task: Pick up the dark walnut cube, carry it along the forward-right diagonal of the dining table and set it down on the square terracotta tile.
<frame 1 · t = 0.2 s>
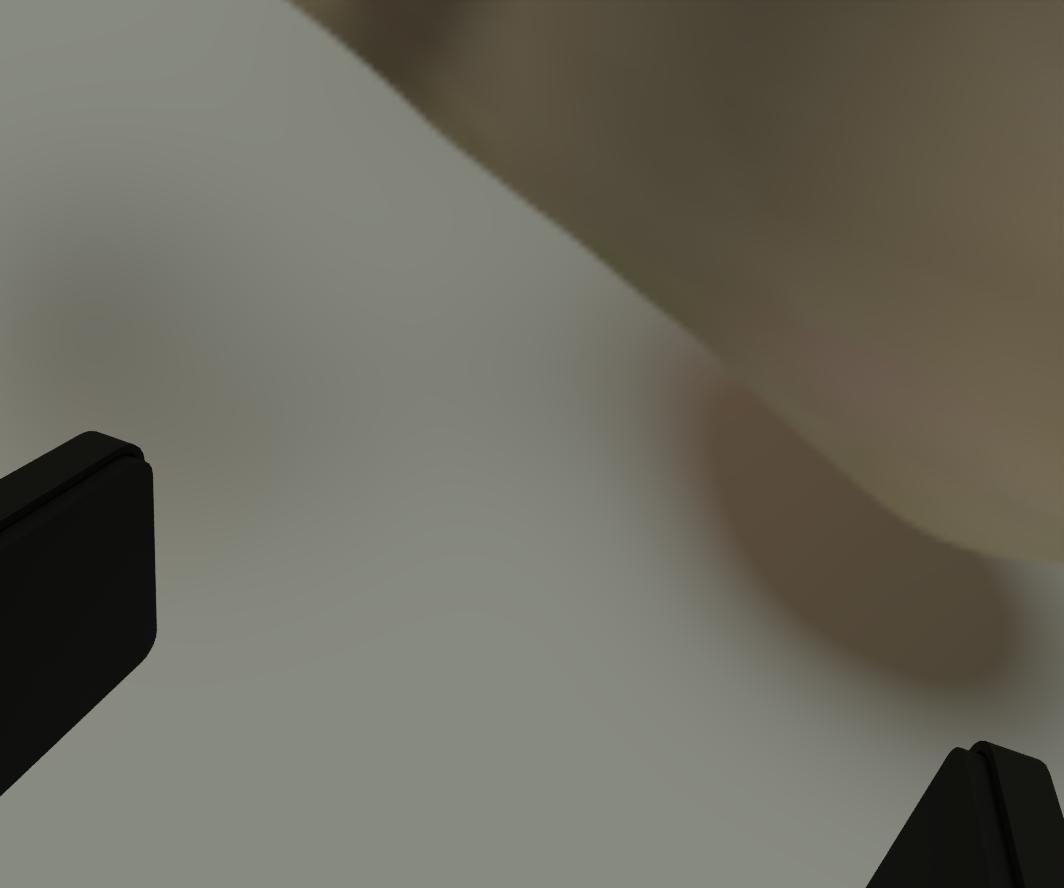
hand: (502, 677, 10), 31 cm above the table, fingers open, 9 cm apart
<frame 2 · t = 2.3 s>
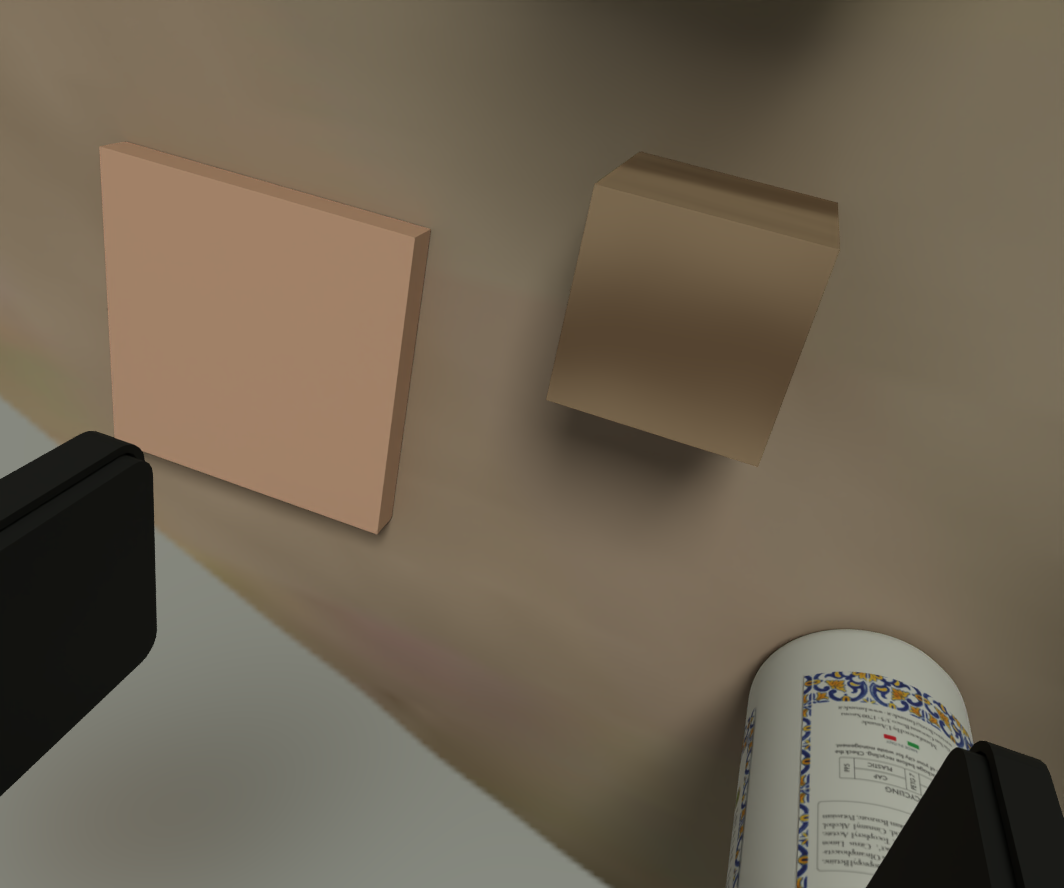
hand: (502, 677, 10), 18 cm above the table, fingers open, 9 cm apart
walnut cube: (707, 272, 25), on the table
bath foam: (853, 700, 30), on the table
terracotta tile: (266, 340, 30), on the table
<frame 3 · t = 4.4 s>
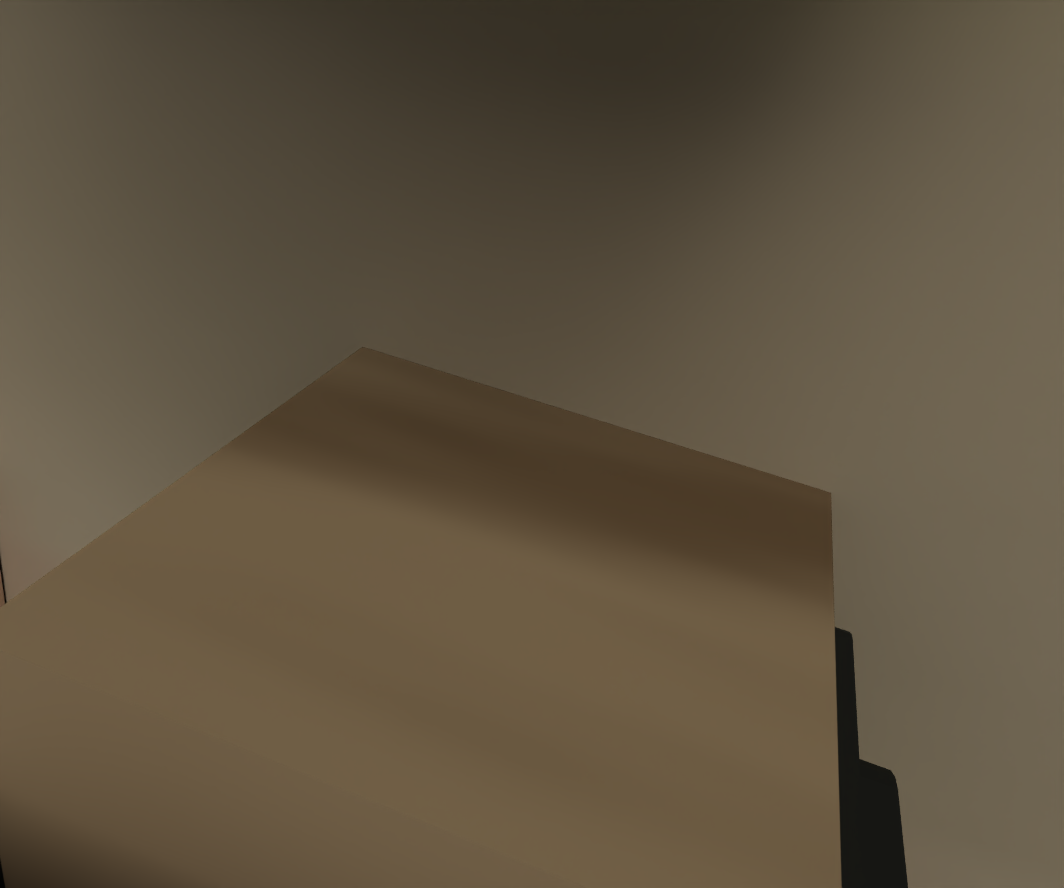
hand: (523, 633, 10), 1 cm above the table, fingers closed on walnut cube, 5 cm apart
walnut cube: (538, 604, 11), on the table, touching gripper
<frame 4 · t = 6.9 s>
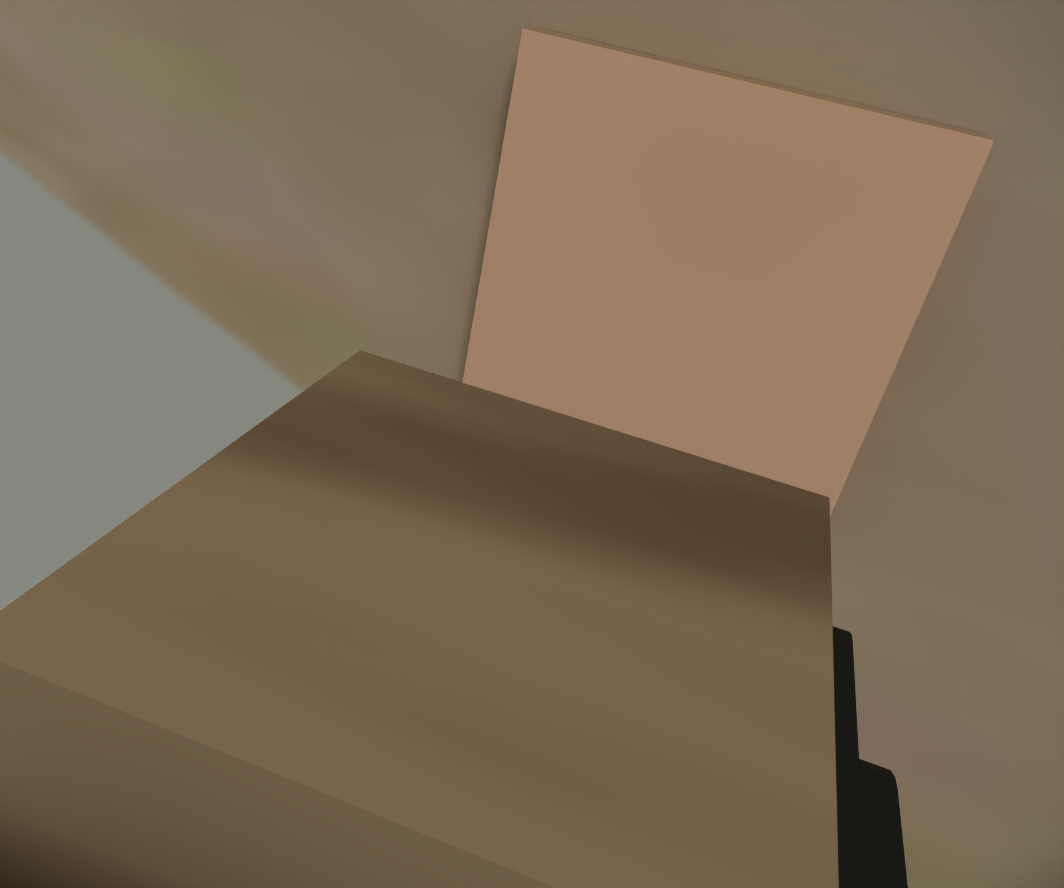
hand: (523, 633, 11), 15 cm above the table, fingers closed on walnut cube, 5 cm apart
walnut cube: (536, 608, 11), point 15 cm above the table, touching gripper
terracotta tile: (688, 293, 24), on the table
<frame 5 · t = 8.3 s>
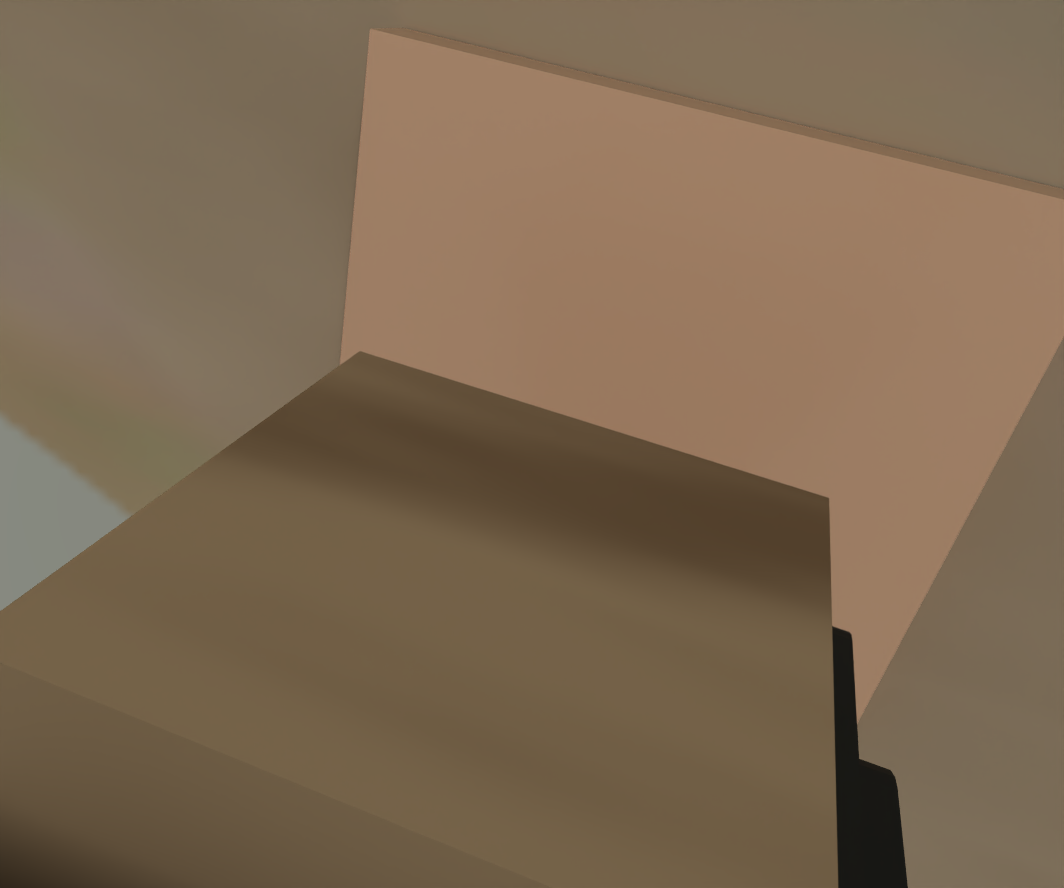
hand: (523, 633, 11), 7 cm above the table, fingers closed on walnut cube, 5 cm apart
walnut cube: (535, 609, 11), point 6 cm above the table, touching gripper
terracotta tile: (639, 417, 16), on the table
when the fingers open (3 cm above the table, at t = 9.5 s): walnut cube drops 1 cm, resting on terracotta tile.
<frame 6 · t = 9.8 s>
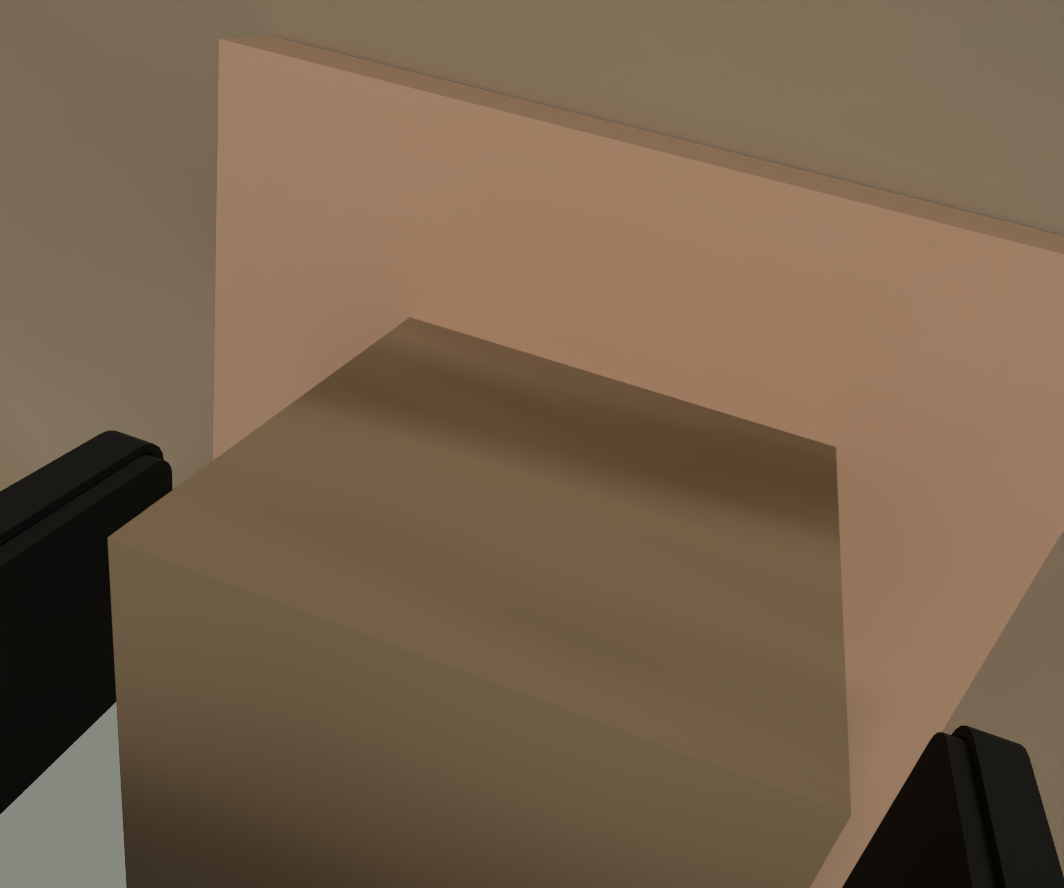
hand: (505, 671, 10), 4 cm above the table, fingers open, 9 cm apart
walnut cube: (566, 555, 12), point 1 cm above the table, touching terracotta tile
terracotta tile: (581, 513, 13), on the table
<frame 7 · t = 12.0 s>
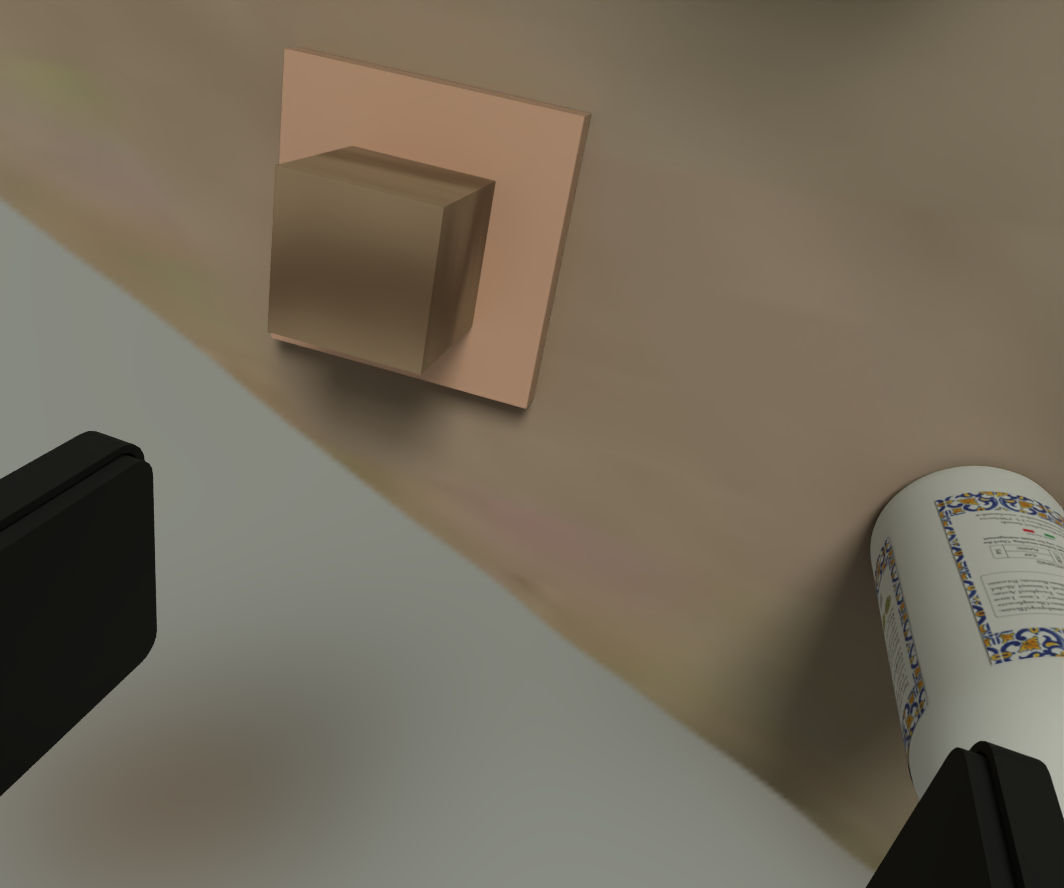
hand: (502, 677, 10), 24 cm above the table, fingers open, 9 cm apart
walnut cube: (413, 238, 32), point 1 cm above the table, touching terracotta tile
bath foam: (964, 538, 33), on the table
terracotta tile: (423, 232, 33), on the table
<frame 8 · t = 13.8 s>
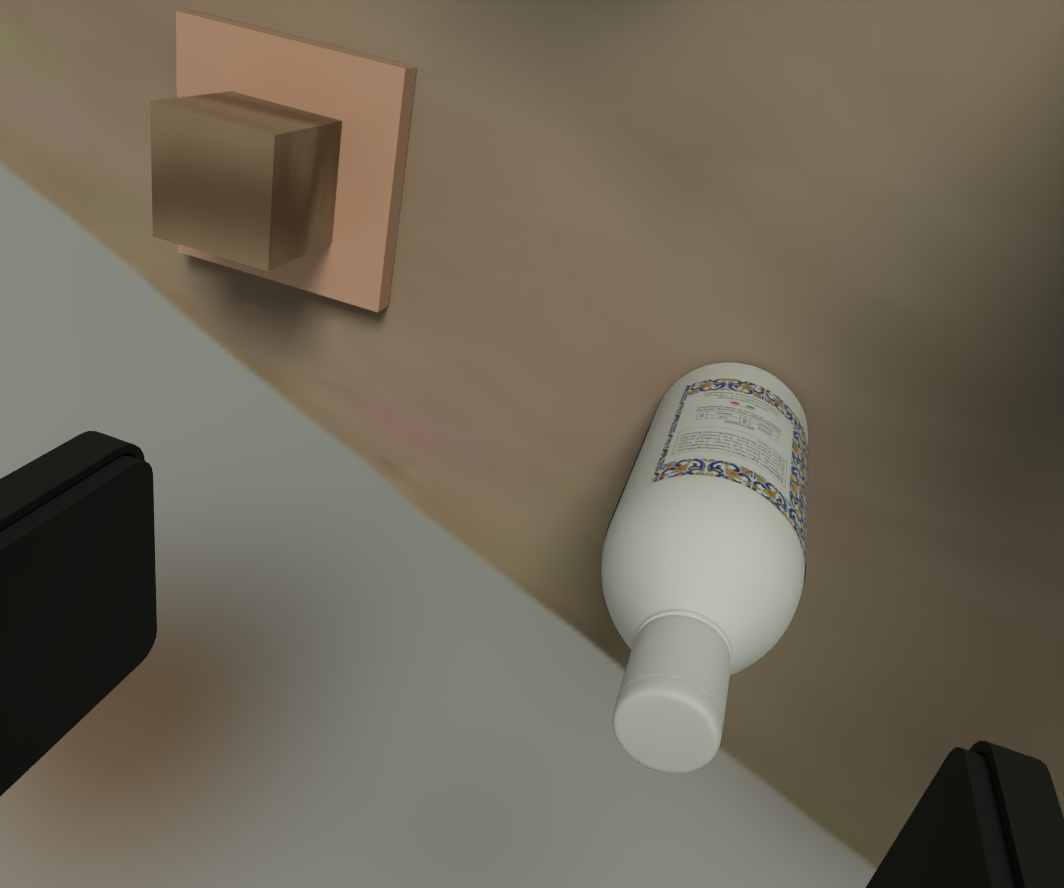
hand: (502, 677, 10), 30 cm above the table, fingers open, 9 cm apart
walnut cube: (283, 168, 40), point 1 cm above the table, touching terracotta tile
bath foam: (730, 427, 40), on the table
terracotta tile: (295, 164, 41), on the table
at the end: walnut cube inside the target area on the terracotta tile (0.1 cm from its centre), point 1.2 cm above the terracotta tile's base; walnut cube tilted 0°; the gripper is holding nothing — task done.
